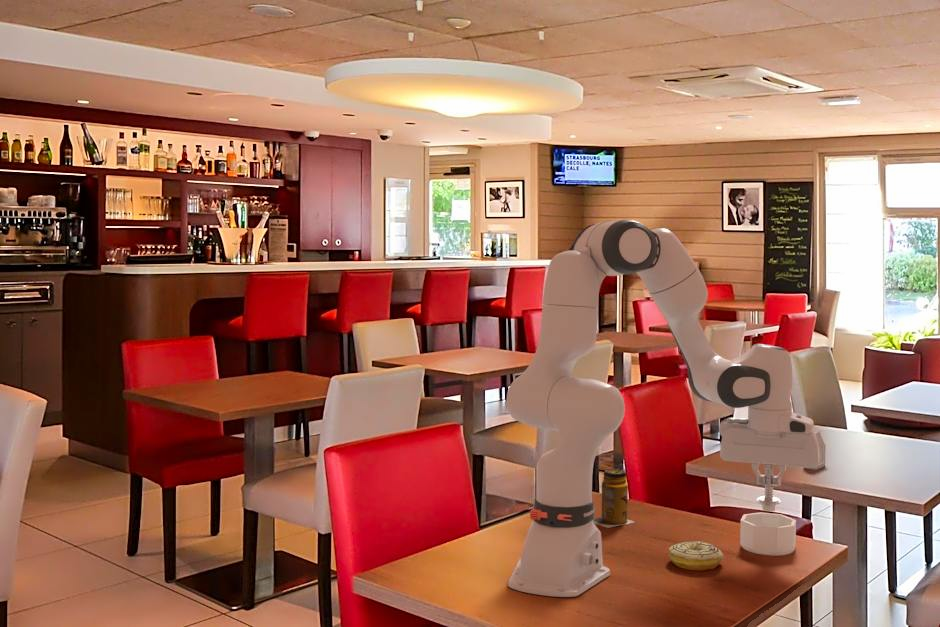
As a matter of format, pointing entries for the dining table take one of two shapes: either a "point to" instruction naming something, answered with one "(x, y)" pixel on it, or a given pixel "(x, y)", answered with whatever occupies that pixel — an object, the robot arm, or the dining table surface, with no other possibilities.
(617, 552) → the dining table surface
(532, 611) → the dining table surface
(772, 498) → the screw
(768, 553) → the white faceted bowl
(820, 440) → the white faceted block
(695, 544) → the decorated donut
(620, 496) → the condiment
